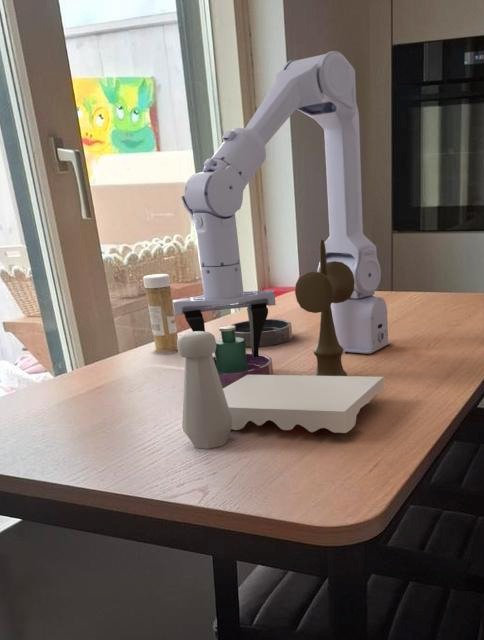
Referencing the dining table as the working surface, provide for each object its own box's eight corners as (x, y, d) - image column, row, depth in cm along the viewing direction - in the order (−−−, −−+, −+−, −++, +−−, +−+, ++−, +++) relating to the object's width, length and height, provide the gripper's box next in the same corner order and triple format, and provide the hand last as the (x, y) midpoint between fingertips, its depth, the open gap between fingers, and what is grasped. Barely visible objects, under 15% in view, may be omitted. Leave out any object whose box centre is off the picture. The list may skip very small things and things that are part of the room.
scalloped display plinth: (196, 431, 87) (346, 439, 80) (192, 406, 86) (344, 411, 79) (250, 397, 100) (384, 401, 93) (247, 374, 99) (383, 376, 92)
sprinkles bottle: (184, 350, 127) (173, 274, 122) (160, 355, 125) (148, 277, 120) (174, 346, 131) (163, 272, 125) (151, 351, 129) (138, 275, 123)
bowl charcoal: (304, 336, 132) (303, 320, 131) (268, 351, 123) (266, 334, 122) (252, 333, 138) (251, 317, 137) (214, 347, 129) (212, 330, 127)
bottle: (253, 375, 107) (247, 323, 104) (241, 384, 103) (235, 330, 100) (225, 375, 109) (219, 323, 105) (213, 384, 104) (206, 330, 101)
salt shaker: (188, 436, 85) (172, 329, 80) (235, 432, 86) (222, 325, 80) (183, 453, 80) (165, 340, 75) (233, 449, 80) (219, 336, 75)
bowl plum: (288, 375, 108) (287, 356, 107) (242, 397, 99) (240, 377, 97) (226, 369, 114) (224, 350, 112) (177, 389, 104) (174, 370, 103)
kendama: (359, 373, 106) (353, 235, 98) (338, 392, 98) (330, 242, 90) (322, 372, 108) (314, 236, 100) (299, 390, 100) (288, 243, 92)
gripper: (265, 256, 104) (274, 347, 110) (167, 265, 101) (180, 358, 107) (274, 261, 98) (282, 357, 103) (169, 271, 95) (183, 369, 100)
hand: (231, 358), depth 105 cm, fingers open, 7 cm apart
